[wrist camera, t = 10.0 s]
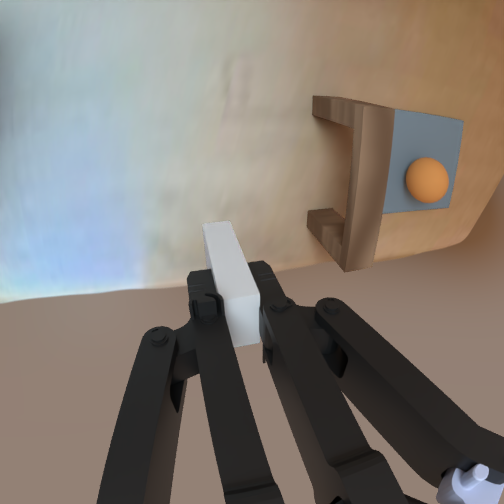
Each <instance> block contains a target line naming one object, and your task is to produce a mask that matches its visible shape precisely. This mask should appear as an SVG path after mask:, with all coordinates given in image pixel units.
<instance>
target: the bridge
mask: <svg viewBox="0 0 504 504" xmlns="http://www.w3.org/2000/svg"><path fill="white" fill-rule="evenodd" d="M312 115H314V116H318V117H321V118H324V119H327V120H330V121H333V122H336V123H339V124H342V125H345V126H348V127H351V128H353V129H354V135H353V149H352V161H351V172H350V182H349V192H348V201H347V209H346V217H345V219H344V218H343V217H341V216H340V215H339V214H338V213H337V212H336V211H335V210H334V209H333V208H329V209H319V210H309V211H308V217H307V228H308V229H309V230H310V231H311V232H312V234H313V235H314V236H315V237H316V238H317V239H318V241H319V242H320V243H321V244H322V245H323V247H324V248H325V249H326V250H327V251H328V253H329V254H330V255H331V256H332V258H333V259H334V260H335V261H336V262H337V264H338V265H339V266H340V267H341V269H342V270H343V271H344V272H349V271H354V270H360V269H365V268H370V267H372V265H373V260H374V255H375V251H376V246H377V241H378V236H379V230H380V225H381V219H382V213H383V207H384V201H385V195H386V188H387V181H388V174H389V166H390V158H391V150H392V140H393V130H394V118H395V109H393V108H389V107H385V106H380V105H376V104H371V103H367V102H362V101H357V100H352V99H347V98H342V97H330V96H313V112H312Z"/></svg>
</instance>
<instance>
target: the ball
mask: <svg viewBox="0 0 504 504" xmlns="http://www.w3.org/2000/svg"><path fill="white" fill-rule="evenodd" d="M406 184H407V188H408V190H409V192H410V193H411V195H412V196H413V197H414V198H415V199H417V200H419V201H421V202H423V203H434V202H437V201H439V200H440V199H441V198H442V197H443V196H444V195H445V194H446V192H447V189H448V186H449V178H448V174H447V171H446V169H445V168H444V166H443V165H442V164H441V163H440V162H438V161H437V160H435V159H433V158H429V157H423V158H419V159H417V160H415V161H414V162H413V163H412V164H411V165H410V166H409V168H408V170H407V173H406Z"/></svg>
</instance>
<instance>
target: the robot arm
mask: <svg viewBox="0 0 504 504" xmlns="http://www.w3.org/2000/svg"><path fill="white" fill-rule="evenodd" d="M202 226H203V236H204V245H205V255H206V264H207V269H206V270H199V271H192V272H190V273H189V275H188V277H187V285H188V293H189V310H190V315H191V318H190V320H189V321H188V323H187V324H186V325H184V326H183V327H181V328H179V329H177V330H174V331H173V330H172V329H170V328H168V327H163V326H161V327H155V328H152V329H150V330H148V331H147V332H146V333H145V334H144V336H143V338H142V340H141V344H140V346H139V349H138V352H137V355H136V359H135V362H134V365H133V368H132V371H131V375H130V378H129V381H128V384H127V387H126V391H125V394H124V397H123V401H122V404H121V408H120V411H119V415H118V418H117V422H116V426H115V429H114V433H113V436H112V440H111V444H110V448H109V452H108V456H107V460H106V464H105V468H104V473H103V476H102V481H101V485H100V490H99V494H98V499H97V504H169V503H170V495H171V487H172V480H173V473H174V465H175V458H176V451H177V444H178V437H179V430H180V423H181V417H182V411H183V404H184V398H185V392H186V386H187V379H188V378H190V377H192V376H194V375H196V374H199V373H200V378H201V384H202V390H203V396H204V401H205V407H206V412H207V417H208V422H209V427H210V432H211V437H212V442H213V447H214V451H215V456H216V461H217V465H218V469H219V474H220V478H221V483H222V486H223V492H224V498H225V502H226V504H284V501H283V498H282V495H281V492H280V490H279V488H278V485H277V484H276V483H275V481H274V479H273V477H272V473H271V471H270V467H269V464H268V461H267V458H266V455H265V452H264V448H263V445H262V442H261V439H260V436H259V432H258V429H257V426H256V423H255V419H254V416H253V413H252V409H251V406H250V403H249V399H248V396H247V393H246V389H245V385H244V382H243V379H242V375H241V371H240V368H239V364H238V361H237V357H236V354H235V351H234V348H235V347H240V346H245V345H251V344H257V343H260V336H261V339H262V342H263V363H265V361H266V362H267V364H268V367H269V370H270V373H271V375H272V378H273V381H274V384H275V387H276V389H277V392H278V395H279V398H280V400H281V403H282V406H283V408H284V411H285V414H286V417H287V419H288V422H289V425H290V428H291V430H292V433H293V436H294V438H295V441H296V443H297V446H298V449H299V452H300V454H301V457H302V460H303V462H304V465H305V467H306V470H307V473H308V475H309V478H310V481H311V483H312V486H313V489H314V498H315V502H316V504H427V503H424V502H422V501H420V500H417V499H415V498H412V497H410V496H408V495H405V494H404V493H403V492H402V490H401V488H400V486H399V484H398V482H397V480H396V478H395V476H394V474H393V472H392V470H391V468H390V466H389V464H388V463H387V460H386V459H385V457H384V456H383V454H381V453H380V452H379V451H376V450H373V449H371V447H370V446H369V444H368V442H367V440H366V438H365V436H364V435H363V433H362V431H361V429H360V427H359V425H358V423H357V421H356V419H355V417H354V415H353V413H352V411H351V409H350V407H349V405H348V403H347V401H346V399H345V397H344V395H343V394H342V392H343V393H344V394H345V395H346V396H347V398H348V399H349V400H350V401H351V402H352V403H353V404H354V406H356V408H357V409H358V410H359V411H360V412H361V413H362V414H363V416H364V417H365V418H366V419H367V420H368V421H369V422H370V423H371V424H372V425H373V427H374V428H375V429H376V430H377V431H378V432H379V433H380V434H381V435H382V436H383V438H384V439H385V440H386V441H387V442H388V443H389V444H390V445H391V446H392V447H393V448H394V450H395V451H396V452H397V453H398V454H399V455H400V456H401V457H402V458H403V459H404V460H405V461H406V462H407V464H408V465H409V466H410V467H411V468H412V469H413V470H414V471H415V472H416V473H417V474H418V475H419V476H420V477H421V478H422V479H424V480H425V481H427V482H428V483H429V484H431V485H432V486H434V487H436V488H438V493H437V496H436V499H437V501H438V503H440V504H498V501H499V499H500V496H501V493H502V491H503V488H504V437H502V436H500V435H498V434H496V433H493V432H491V431H489V430H487V429H484V428H482V427H480V426H478V425H477V424H476V423H475V422H474V421H473V420H472V419H471V418H470V417H469V416H468V415H467V414H465V412H464V411H463V410H461V409H460V408H459V407H458V406H457V405H456V404H455V403H454V402H453V401H452V400H451V399H450V398H449V397H448V396H447V395H445V394H444V393H443V392H442V391H441V390H440V389H439V388H438V387H437V386H436V385H434V383H433V382H431V381H430V380H429V379H428V378H427V377H426V376H425V375H424V374H423V373H422V372H420V371H419V370H418V369H417V368H416V367H415V366H414V365H413V364H412V363H411V362H410V361H409V360H408V359H406V358H405V357H404V356H403V355H402V354H401V353H400V352H399V351H398V350H396V349H395V348H394V347H393V346H392V345H391V344H390V343H389V342H388V341H386V340H385V339H384V338H383V337H382V336H381V335H380V334H379V333H378V332H377V331H375V330H374V329H373V328H372V327H371V326H370V325H369V324H368V323H366V322H365V321H364V320H363V319H362V318H361V317H360V316H359V315H358V314H356V313H355V312H354V311H353V310H352V309H351V308H350V307H348V306H347V305H346V304H345V303H344V302H342V301H341V300H339V299H336V298H323V299H321V300H319V301H318V302H317V304H316V306H315V307H305V306H299V305H296V304H295V302H294V301H293V300H292V299H290V298H288V297H286V296H285V294H284V292H283V290H282V288H281V286H280V284H279V282H278V280H277V279H276V276H275V274H274V273H273V271H272V269H271V267H270V265H268V264H267V263H266V262H264V261H257V262H250V263H247V262H246V259H245V257H244V254H243V252H242V250H241V247H240V245H239V242H238V240H237V238H236V235H235V233H234V230H233V228H232V225H231V223H230V221H221V222H213V223H205V224H202ZM341 391H342V392H341Z"/></svg>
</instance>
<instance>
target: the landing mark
mask: <svg viewBox="0 0 504 504" xmlns="http://www.w3.org/2000/svg"><path fill="white" fill-rule="evenodd" d="M463 122H464V121H462V120H457V119H452V118H447V117H442V116H436V115H430V114H424V113H418V112H411V111H404V110H397V109H395V118H394V130H393V140H392V150H391V158H390V166H389V174H388V181H387V188H386V195H385V201H384V207H383V213H382V214H384V213H395V212H405V211H416V210H427V209H438V208H449V204H450V200H451V195H452V190H453V185H454V180H455V175H456V170H457V164H458V158H459V152H460V145H461V138H462V131H463ZM423 157H429V158H433V159H435V160H437V161H438V162H440V163H441V164H442V165H443V166H444V168H445V169H446V171H447V174H448V178H449V186H448V189H447V192H446V194H445V195H444V196H443V197H442V198H441V199H440V200H439V201H437V202H434V203H423V202H421V201H419V200H417V199H415V198H414V197H413V196H412V195H411V193H410V192H409V190H408V188H407V184H406V173H407V170H408V168H409V166H410V165H411V164H412V163H413V162H414V161H415V160H417V159H419V158H423Z"/></svg>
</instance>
